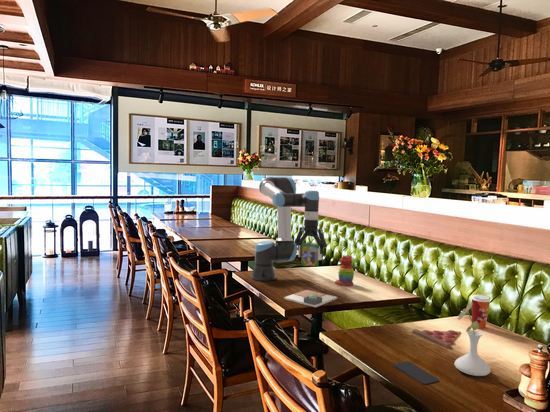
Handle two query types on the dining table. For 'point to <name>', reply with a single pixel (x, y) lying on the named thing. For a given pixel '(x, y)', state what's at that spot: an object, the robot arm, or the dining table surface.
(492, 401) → the dining table surface
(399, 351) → the dining table surface
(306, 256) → the chalk box
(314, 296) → the button
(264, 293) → the dining table surface
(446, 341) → the pizza slice
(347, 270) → the stacking bear
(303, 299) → the picture board
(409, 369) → the phone
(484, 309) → the paper cup
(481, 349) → the dining table surface
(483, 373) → the flower in vase
